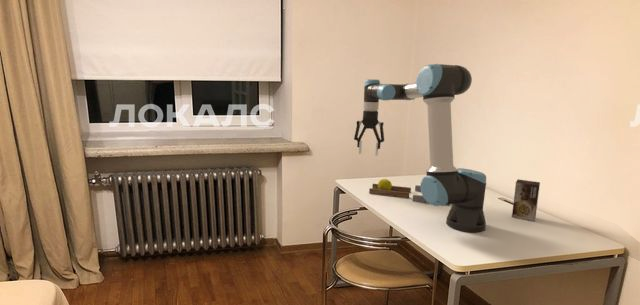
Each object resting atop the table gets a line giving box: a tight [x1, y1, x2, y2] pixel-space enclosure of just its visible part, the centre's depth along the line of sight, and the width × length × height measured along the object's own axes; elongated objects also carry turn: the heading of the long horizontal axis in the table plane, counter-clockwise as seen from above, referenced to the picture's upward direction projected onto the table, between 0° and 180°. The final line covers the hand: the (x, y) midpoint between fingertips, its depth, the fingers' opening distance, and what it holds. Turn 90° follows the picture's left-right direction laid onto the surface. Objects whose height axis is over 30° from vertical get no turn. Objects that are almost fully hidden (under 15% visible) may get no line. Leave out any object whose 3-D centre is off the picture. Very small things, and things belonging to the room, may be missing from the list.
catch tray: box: [412, 184, 450, 206], centre depth 194 cm, size 19×17×3 cm
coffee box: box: [511, 178, 541, 222], centre depth 169 cm, size 9×6×16 cm
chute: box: [368, 183, 412, 199], centre depth 200 cm, size 11×20×2 cm, turn 73°
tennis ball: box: [377, 178, 393, 190], centre depth 201 cm, size 7×7×7 cm
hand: (368, 154), depth 200 cm, fingers open, 8 cm apart
